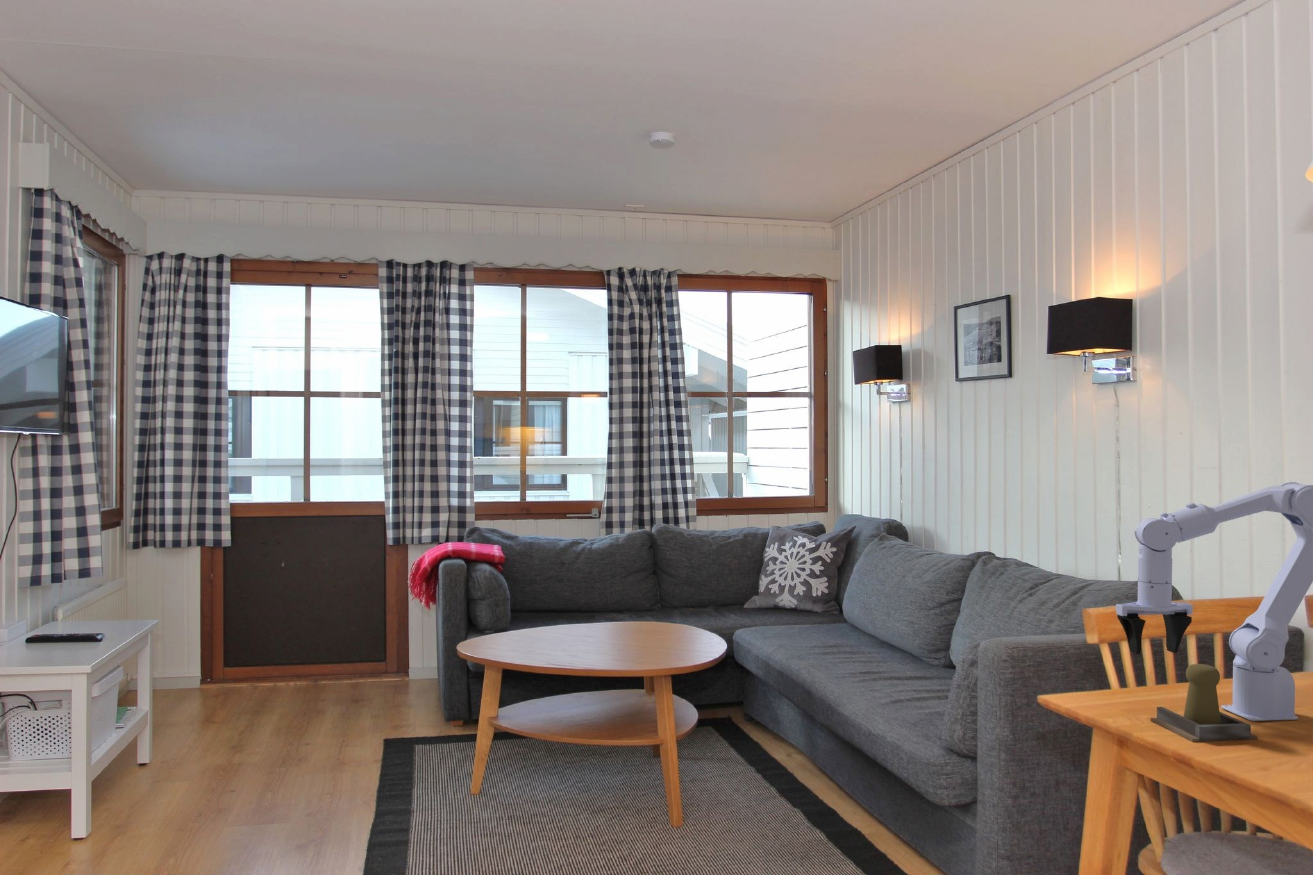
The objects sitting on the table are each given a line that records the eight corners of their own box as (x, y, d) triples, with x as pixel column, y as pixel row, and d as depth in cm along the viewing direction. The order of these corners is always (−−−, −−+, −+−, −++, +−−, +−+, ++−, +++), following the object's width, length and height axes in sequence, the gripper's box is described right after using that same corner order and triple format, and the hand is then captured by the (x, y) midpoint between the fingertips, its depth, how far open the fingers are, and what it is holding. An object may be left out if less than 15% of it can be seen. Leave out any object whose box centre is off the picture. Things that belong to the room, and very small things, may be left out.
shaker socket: (1211, 718, 167) (1211, 705, 167) (1257, 739, 156) (1257, 724, 156) (1150, 720, 166) (1150, 707, 166) (1192, 741, 155) (1192, 727, 155)
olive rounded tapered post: (1227, 734, 157) (1229, 670, 157) (1189, 731, 159) (1190, 668, 158) (1213, 723, 163) (1214, 661, 163) (1177, 720, 165) (1178, 660, 164)
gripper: (1175, 577, 179) (1174, 646, 179) (1106, 578, 177) (1105, 647, 177) (1201, 583, 172) (1199, 655, 172) (1129, 584, 170) (1128, 657, 170)
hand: (1153, 652), depth 174 cm, fingers open, 7 cm apart
